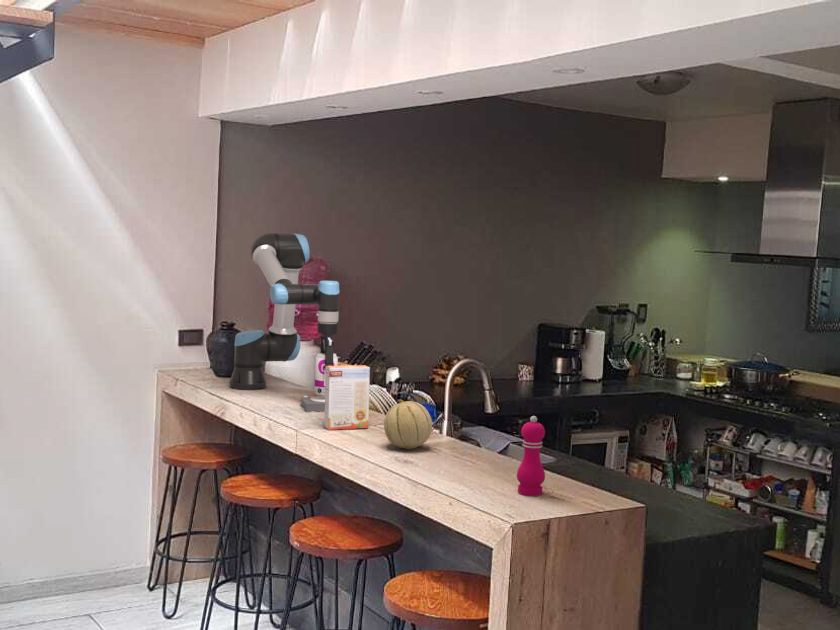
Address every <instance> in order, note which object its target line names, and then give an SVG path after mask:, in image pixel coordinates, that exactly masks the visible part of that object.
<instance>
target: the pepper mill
mask: <svg viewBox="0 0 840 630" xmlns="http://www.w3.org/2000/svg"><path fill="white" fill-rule="evenodd" d="M520 430H521V431H520V435H521V437H522V438H523V440H522V447H523V458H522V460H521V463H520V464H519V466H518V468H517V471H516V479H517V481H518V482H519V484H518V485H517V493H518V494H519V495H522V496H527V497H538V496H541V495H543V486H542V484H543V483H544V482H545V479H546V473H545V470H544V467H543V464H542V461H541V457H540V456H541V454H540V453H541V448H543V441H542V440H543V438H544V437H545V434H546V430H545V427H544V425H542V424H541V423H540V422H538V418H537V416H535V415H532V416H530V419H529V421H527V422H526V423H524V424H523V426H522V427H521V429H520Z"/></svg>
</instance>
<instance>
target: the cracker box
mask: <svg viewBox="0 0 840 630" xmlns="http://www.w3.org/2000/svg"><path fill="white" fill-rule="evenodd" d="M370 372H371V367H369V366H368V365H365V364H364V365H362V364H359V365H351V364H349V365H338V366H326V372H325V412H324V422H323V423H324V428H325V429H326V430H327V431H338V429H343V430H357V429H356V428H368V429H369V414H370V413H369V411H370V410H369V409H370V408H369V407H370V374H371V373H370Z"/></svg>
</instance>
